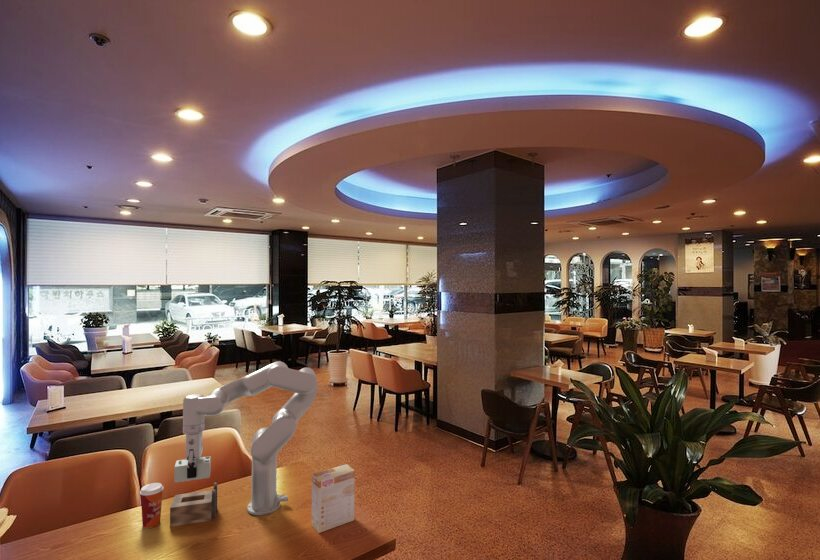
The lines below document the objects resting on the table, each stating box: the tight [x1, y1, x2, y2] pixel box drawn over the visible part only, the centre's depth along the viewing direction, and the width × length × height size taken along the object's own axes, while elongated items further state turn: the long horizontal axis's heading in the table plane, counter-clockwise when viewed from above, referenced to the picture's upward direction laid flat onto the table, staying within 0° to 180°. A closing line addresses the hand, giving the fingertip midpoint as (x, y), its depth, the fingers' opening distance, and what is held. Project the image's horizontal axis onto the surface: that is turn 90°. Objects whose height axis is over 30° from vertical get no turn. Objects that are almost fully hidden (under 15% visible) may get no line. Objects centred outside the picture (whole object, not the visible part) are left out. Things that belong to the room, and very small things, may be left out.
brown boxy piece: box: [169, 482, 218, 527], centre depth 169 cm, size 15×10×10 cm, turn 108°
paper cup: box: [139, 482, 164, 529], centre depth 163 cm, size 8×8×14 cm
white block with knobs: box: [173, 455, 212, 484], centre depth 168 cm, size 12×6×7 cm, turn 111°
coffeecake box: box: [311, 463, 356, 534], centre depth 166 cm, size 15×7×20 cm, turn 126°
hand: (193, 473), depth 169 cm, fingers closed on white block with knobs, 6 cm apart
